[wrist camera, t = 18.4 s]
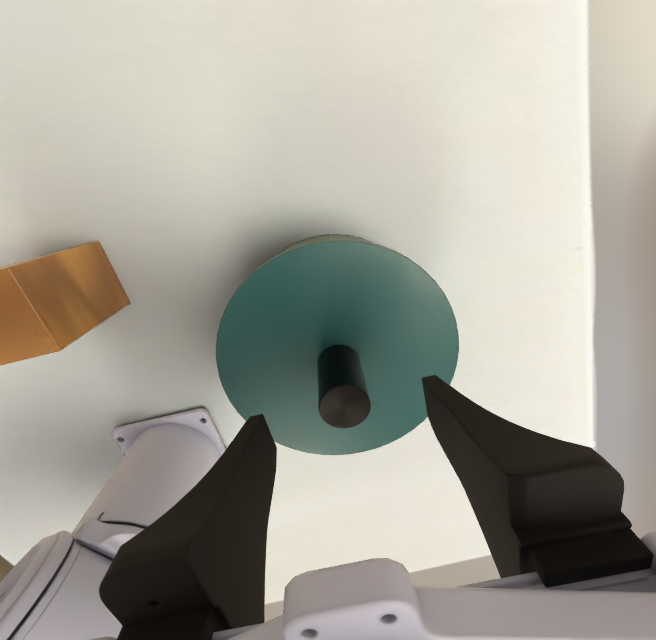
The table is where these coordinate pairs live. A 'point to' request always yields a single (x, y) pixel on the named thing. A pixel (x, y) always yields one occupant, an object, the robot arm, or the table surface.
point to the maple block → (55, 300)
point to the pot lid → (336, 345)
